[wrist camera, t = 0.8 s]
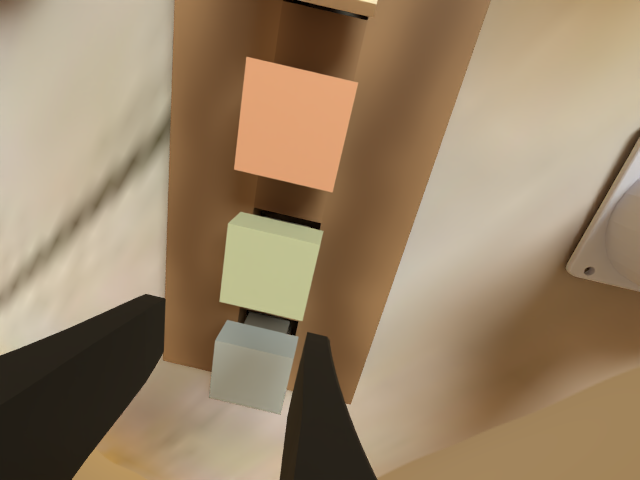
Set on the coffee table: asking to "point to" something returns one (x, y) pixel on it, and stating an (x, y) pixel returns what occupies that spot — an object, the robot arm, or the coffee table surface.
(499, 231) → the coffee table surface
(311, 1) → the cream key
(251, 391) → the pale grey cube
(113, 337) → the robot arm
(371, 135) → the brown wooden board
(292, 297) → the pale green cube
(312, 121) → the terracotta key
